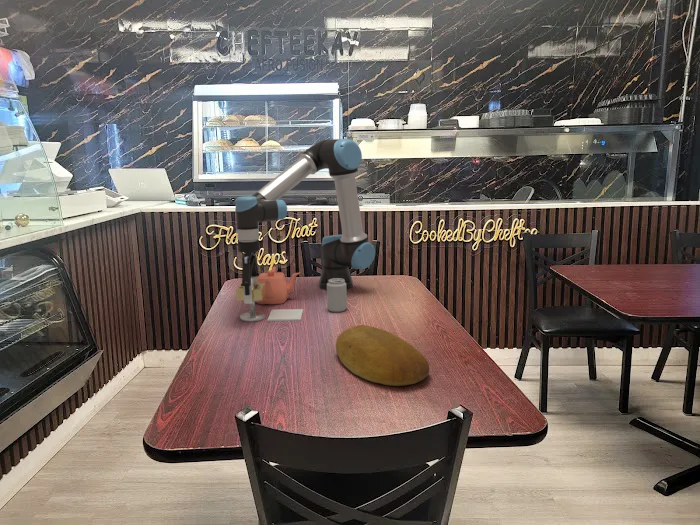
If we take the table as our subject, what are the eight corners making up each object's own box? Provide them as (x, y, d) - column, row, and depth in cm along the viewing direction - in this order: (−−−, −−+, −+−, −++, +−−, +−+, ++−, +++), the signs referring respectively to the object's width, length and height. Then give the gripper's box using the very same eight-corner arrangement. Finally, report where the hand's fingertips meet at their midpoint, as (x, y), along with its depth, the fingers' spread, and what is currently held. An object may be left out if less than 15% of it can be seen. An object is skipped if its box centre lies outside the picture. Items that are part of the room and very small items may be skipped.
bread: (367, 341, 169) (366, 311, 167) (443, 379, 141) (444, 344, 138) (317, 354, 159) (316, 322, 157) (389, 398, 131) (389, 360, 128)
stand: (266, 313, 198) (264, 275, 195) (263, 321, 189) (261, 281, 186) (242, 314, 198) (240, 275, 195) (238, 322, 189) (235, 281, 186)
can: (344, 313, 197) (344, 282, 195) (325, 312, 199) (324, 281, 196) (348, 307, 205) (348, 277, 202) (329, 306, 206) (329, 277, 203)
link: (265, 293, 196) (265, 283, 196) (261, 300, 188) (261, 289, 187) (241, 293, 196) (240, 283, 195) (236, 300, 187) (236, 289, 187)
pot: (303, 300, 216) (302, 270, 213) (268, 309, 204) (267, 278, 201) (275, 292, 228) (274, 264, 226) (241, 300, 217) (240, 270, 214)
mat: (303, 310, 202) (303, 309, 201) (300, 320, 190) (300, 319, 190) (271, 311, 201) (271, 309, 201) (267, 321, 190) (267, 319, 190)
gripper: (244, 234, 199) (247, 289, 204) (230, 246, 175) (234, 308, 180) (263, 234, 199) (266, 289, 204) (253, 246, 176) (256, 308, 180)
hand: (251, 298), depth 192 cm, fingers open, 12 cm apart
